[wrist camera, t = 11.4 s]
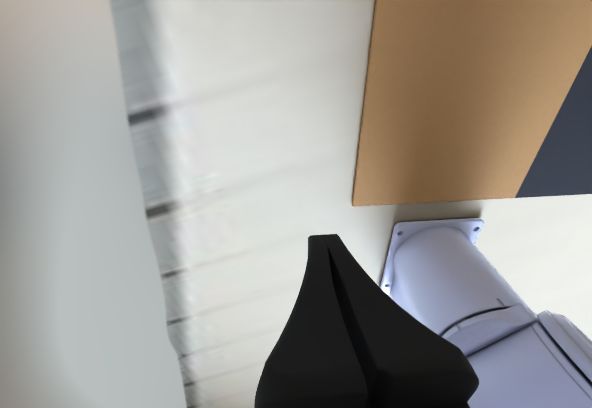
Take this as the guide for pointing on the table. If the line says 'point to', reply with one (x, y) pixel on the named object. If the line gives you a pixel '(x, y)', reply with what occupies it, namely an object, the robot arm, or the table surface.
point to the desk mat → (476, 101)
